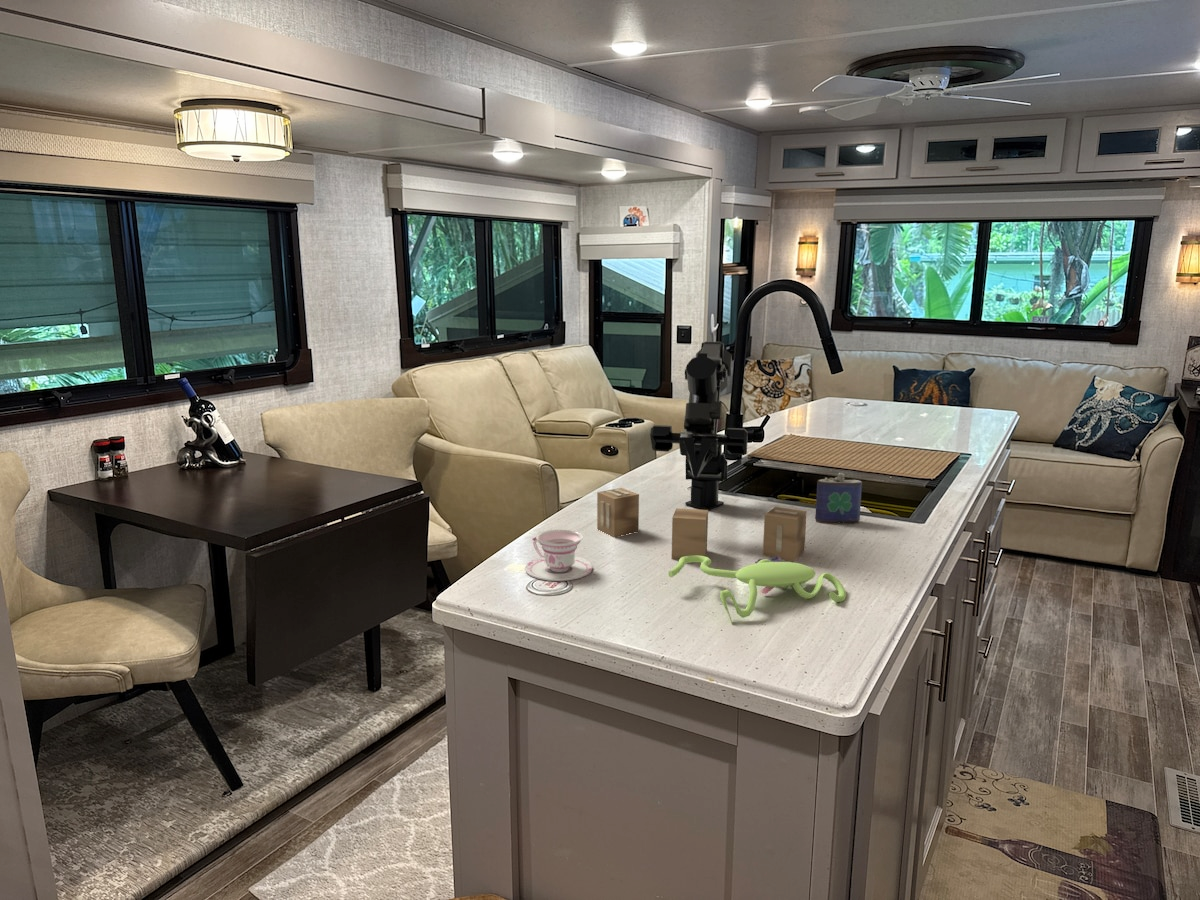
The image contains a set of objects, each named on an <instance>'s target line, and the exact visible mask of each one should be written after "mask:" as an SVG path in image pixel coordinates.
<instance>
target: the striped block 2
mask: <svg viewBox="0 0 1200 900" xmlns="http://www.w3.org/2000/svg"><path fill="white" fill-rule="evenodd" d="M763 519H764V520H763V521H764V522H763V540H762V541H763V543H762V544H763V545H762V556H763V557H768V558H771V557H773V556H777V557H780V559H781V560H784V561H788V562H795V561H796V560H797V559H799V558H800V557H801V555H803V554H804V553H805V547H806V546H805V545H806V528H807V510H801V509H794V508H787V507H781V506H774V507H773V508H772V509H770V510H769V511H768V512H766V513H765V514H764V518H763Z"/></svg>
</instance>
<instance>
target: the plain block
mask: <svg viewBox="0 0 1200 900" xmlns="http://www.w3.org/2000/svg"><path fill="white" fill-rule="evenodd" d="M671 519H672V521H671V523H672V524H671V533H672V534H671V560H677V559H680V558H681V557H685V556H692V555H698V556H705V557H707V552H708V535H709V534H708V532H709V531H708V528H709V527H708V525H709V510H706V509H698V508H697V509H694V508H680V507H679V508H678V507H676V508H675V510H674V512H673V515H672V518H671Z"/></svg>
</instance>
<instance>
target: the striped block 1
mask: <svg viewBox="0 0 1200 900" xmlns="http://www.w3.org/2000/svg"><path fill="white" fill-rule="evenodd" d="M596 495H597V497H596V500H597V501H596V507H597V509H596V511H597V513H596V514H597V515H596V516H597V519H596V522H597V523H596V530H597V529H598V530H597V531H599V530H600V531H599V532H601V531H602V532H601V533H603V532H604V533H603V534H605V533H606V535H607V534H608V535H607V536H609V535H610V537H612V538H614V537H615V538H619V537H618V536H620V537H622V536H621V535H624V536H627V535H626V534H629V533H633V534H635V533H634V532H638V533H639V527H640V526H639V521H640V520H639V519H640V516H639V515H640V512H639V511H640V495H639V493H637V492H634V491H631V490H628V489H625V488H623V487H619V488H612V489H608V490H602V491H597V494H596ZM629 535H630V534H629Z"/></svg>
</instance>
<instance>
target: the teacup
mask: <svg viewBox="0 0 1200 900" xmlns="http://www.w3.org/2000/svg"><path fill="white" fill-rule="evenodd" d="M583 539H584V536H583V534H582V533H580V532H577V531H575V530H574V531H573V530H569V529H550V530H549V529H548V530H543V531H541V532H538V533H537V534H536V535H535V537H534V538H533V537H532V541H533V542H532V544H533V548H534V550H535V551H536V552H537V554H538V555H539V557H538V558H535V559H532V560H531V561H529V562H527V563H526V565H525V566H524V569H525V573H526V574H528V575H529V576H530V577H533V578H535V579H537V580H541V581H550V582H565V581H572V580H573V581H574V580H577V579H578V580H579V579H581V578H584V577H586V576H589V575H590V574H591V573H592V572H593V569H594V566H593V563H591V561H589V560H588V559H585V558H582V557H580V556H575V553H576V550H577V549H578V545H579V544H580V543H581V541H582V540H583ZM537 542H538V543H539V545H541V549H542V551H543V552H544V554H543V553H542V552H541V551H540V549H539V547H538V545H537ZM548 567H549V568H550V571H552V572H548V571H547V568H548ZM570 568H572V570H570ZM569 570H570V571H569ZM567 571H568V572H567ZM553 572H555V573H553ZM564 572H566V573H564Z"/></svg>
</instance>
